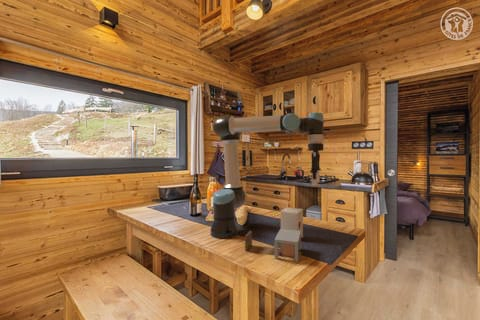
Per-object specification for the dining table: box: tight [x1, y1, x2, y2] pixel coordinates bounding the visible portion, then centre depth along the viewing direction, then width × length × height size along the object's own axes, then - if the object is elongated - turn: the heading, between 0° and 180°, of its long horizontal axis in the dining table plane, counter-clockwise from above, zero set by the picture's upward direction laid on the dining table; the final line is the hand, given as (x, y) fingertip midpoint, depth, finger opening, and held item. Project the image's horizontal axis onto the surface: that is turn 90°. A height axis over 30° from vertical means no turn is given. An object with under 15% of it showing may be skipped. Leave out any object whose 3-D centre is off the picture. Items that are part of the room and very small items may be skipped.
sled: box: [244, 230, 302, 260], centre depth 96 cm, size 23×7×8 cm, turn 70°
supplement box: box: [280, 206, 304, 239], centre depth 113 cm, size 9×9×15 cm
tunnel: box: [274, 228, 302, 263], centre depth 94 cm, size 9×13×9 cm
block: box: [281, 243, 295, 257], centre depth 94 cm, size 5×5×6 cm
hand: (315, 184), depth 117 cm, fingers open, 13 cm apart
